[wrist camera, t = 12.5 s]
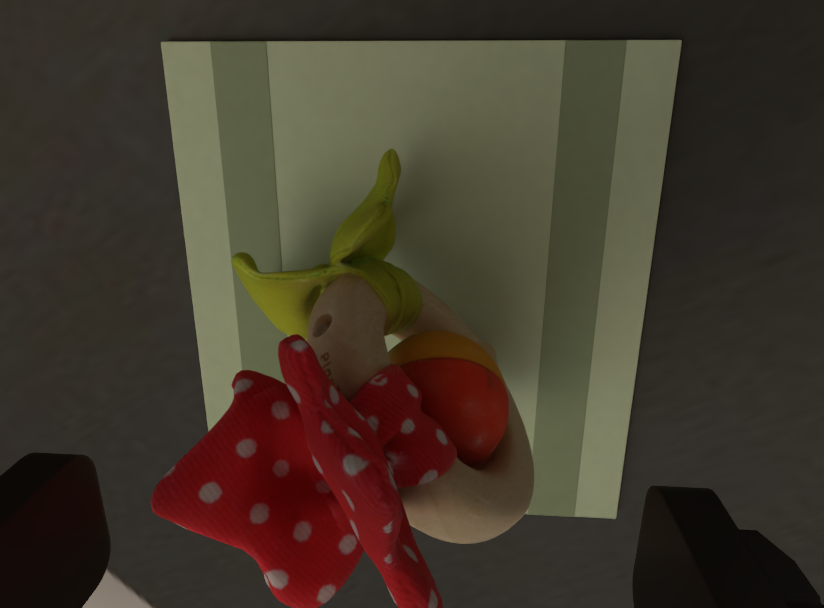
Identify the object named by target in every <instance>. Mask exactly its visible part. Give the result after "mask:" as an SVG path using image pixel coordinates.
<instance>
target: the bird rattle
mask: <svg viewBox="0 0 824 608" xmlns="http://www.w3.org/2000/svg"><path fill="white" fill-rule="evenodd" d="M400 174H401V165H400V161H399V157H398V155H397V153H396V151H395V150H394V149H389V150H388V151H386V152H385V153H384V154H383V156H382V158H381V160H380V163H379V166H378V175H377V181H376V184H375V186H374V187H373V188H372V189H371V191H370V192H369V194H368V195H367V197H366V198H365V200H364V201H363V202H362V203H361V204H360V205H359V206H358V207H357V208H356V209H355V210H354V211H353V212H352V213H351V214H350V215H349V216H348V217H347V219H346V220H345V221H344V222H343V223H342V224H341V225H340V227H339V228H338V230H337V232H336V234H335V236H334V239H333V242H332V246H331V251H330V259H329V264H320V265H317V266H315V267H314V268H311V269H306V270H299V271H283V272H269V273H262V272H260V271H259V270H258V268H257V265H256V263H255V261H254V259H253V258H252V257H251V256H250V254H248V253H245V252H238V253H236V254H235V255H234V256H233V257H232V258H231V263H232V265H233V267H234V269H235V271H236V273H237V275H238V276H239V278H240V280H241V282H242V283H243V285H244V286H245V288H246V290H247V291H248V293H249V294H250V296H251V298H252V299H253V301H254V302H255V303H256V304H257V306H258V307H259V308H260V309H261V310H262V311H263V312H264V314H265V315H266V316H267V318H268V319H269V320H270V321H271V322H272V323H273V324H274V325H275V327H276V328H277V329H279V330H280V331H281V332H283V333H285V334H287V335H289V337H286V338H284V339H283V340H282V341H280V343H279V347H278V358H279V363H280V368H281V373H282V376H283V378H284V380H285V383H286V384H285V383H283V382H281V381H279V380H277V379H275V378H273V377H271V376H267V375H264V374H262V373H259V372H256V371H252V370H241V371H240V372H238V373H237V374H236V375H235V377H234V379H233V382H232V388H233V389H234V399H233V401H232V404H231V405H230V407H229V409H228V410H227V411H226V412H225V414H224V415H223V416H222V417H221V419H220V420H219V421H218V422H217V423H216V424H215V425H214V426H213V428H212V429H211V430H210V431H209V432H208V433H207V434H206V435H205V436H204V437H203V438H202V439H201V440H200V441H199V442H198V443H197V444H196V445H195V446H194V447H193V448H192V449H191V450H190V451H189V452H188V453H187V454H186V455H185V456H184V457H183V458H182V459H180V460H179V461H178V462H177V463H176V464H175V465H174V466H173V467H172V468H171V469H170V470H169V471H168V472H167V473H166V475H165V476H164V477H163V478H162V480H161V481H160V482H159V484H158V485H157V486H156V488H155V490H154V492H153V495H152V498H151V506H152V510H153V512H154V513H155V514H156V515H158V516H160V517H162V518H164V519H167V520H169V521H171V522H173V523H175V524H177V525H179V526H181V527H183V528H185V529H188V530H190V531H193V532H195V533H198V534H201V535H204V536H207V537H209V538H212V539H215V540H217V541H220V542H223V543H226V544H229V545H231V546H234V547H237V548H240V549H242V550H244V551H245V552H247V553H248V554H249V555H250V556H252V557H253V558H254V559H255V560H256V562H257V563H258V565H259V566H260V568H261V570H262V571H263V573H264V577H265V580H266V583H267V585H268V586H269V588H270V589H271V591H272V593H273V595H274V596H275V597H276V598H277V599H278V600H279V601H280V602H282V603H284V604H286V605H287V606H290V607H292V608H318V607H320V606H321V605H323V604H324V603H326V602H327V601H328V600H329V599H330V598H331V597H332V596H333V595H334V594H335V593H336V592H337V591H338V590H339V589H340V588H341V587H342V586H343V584H344V583H345V582H346V580H347V579H348V577H349V576H350V574H351V573H352V571H353V570H354V568H355V567H356V565H357V563H358V562H359V560H360V557H361V555H362V553H363V551H364V550H365V551H366V553H367V554H368V555H369V557H370V558H371V559H372V561H373V562H374V564H375V565H376V567H377V568H378V570H379V571H380V573H381V575H382V576H383V579H384V581H385V583H386V585H387V587H388V590H389V592H390V595H391V596H392V598H393V600H394V602H395V603H396V605H397V606H398V608H443V606H442V600H441V597H440V594H439V592H438V590H437V587H436V585H435V581H434V579H433V577H432V575H431V573H430V571H429V569H428V567H427V564H426V562H425V560H424V558H423V556H422V554H421V553H420V551H419V549H418V547H417V545H416V542H415V540H414V537H413V534H412V531H411V527H410V525H411V526H412V527H414V528H416V529H418V530H420V531H422V532H424V533H426V534H428V535H430V536H432V537H435V538H437V539H440V540H444V541H447V542H453V543H459V544H470V543H478V542H483V541H486V540H489V539H492V538H494V537H496V536H498V535H500V534H502V533H504V532H505V531H507V530H508V529H510V528H511V527H512V526H513V525H514V524H515V523H516V522H518V521H519V520H520V519H521V518H522V516H523V515H524V514H525V513H526V511H527V509H528V508H529V506H530V502H531V499H532V495H533V490H534V464H533V456H532V452H531V447H530V443H529V439H528V436H527V433H526V429H525V426H524V423H523V421H522V418H521V416H520V413H519V411H518V408H517V406H516V404H515V401H514V399H513V397H512V395H511V393H510V390H509V388H508V387H507V385H506V383H505V380H504V378H503V376H502V373H501V371H500V369H499V368H498V364H497V359H496V353H495V351H494V349H493V348H492V347H491V346H490V345H489V344H488V343H486V342H485V341H483V340H481V339H480V338H478V337H477V336H476V335H475V334H474V333H473V332H472V330H471V329H470V328H469V327H468V326H467V325H466V324H465V323H464V322H463V320H462V319H461V318H460V317H459V316H458V315H457V314H456V313H455V312H454V311H453V310H452V309H451V308H450V307H449V306H448V305H447V304H446V303H444V302H443V301H442V300H441V299H440V298H438V297H437V296H436V295H435V294H434V293H432V292H431V291H430V290H428V289H427V288H426V287H424V286H423V285H422V284H420V283H418V282H417V281H415V280H414V279H413V278H412V277H411V276H410V275H409V274H408V273H407V272H406V271H404V270H403V269H400V268H398V267H396V266H394V265H393V264H391V263H389V262H386V261H383V260H384V259H385V258H386V256H387V255H388V253H389V252H390V251H391V250H392V248H393V246H394V243H395V236H396V226H395V217H394V213H393V211H392V204H393V198H394V194H395V191H396V187H397V184H398V181H399V178H400ZM390 334H392V335H394V336H395V337H397V338H398V339H400V340H401V342H400V343H398V344H397V345H395V346H394V347H393V348H392V349H391V350H390V351H389V352H388V351H387V347H386V343H385V338H384V336H388V335H390ZM306 340H307V341H306Z"/></svg>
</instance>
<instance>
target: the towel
mask: <svg viewBox="0 0 824 608" xmlns="http://www.w3.org/2000/svg"><path fill="white" fill-rule="evenodd" d="M681 44H682V40H451V41H167V42H161V48H162V57H163V65H164V73H165V81H166V89H167V97H168V106H169V114H170V122H171V130H172V138H173V146H174V155H175V163H176V171H177V179H178V187H179V195H180V203H181V212H182V220H183V228H184V236H185V244H186V252H187V261H188V269H189V277H190V285H191V293H192V301H193V309H194V318H195V326H196V334H197V342H198V350H199V358H200V367H201V375H202V383H203V391H204V399H205V407H206V415H207V424H208V432H209V431H210V430H211V429H212V428H213V426H214V425H215V424H216V423H217V422H218V421H219V420H220V419H221V417H222V416H223V415H224V414H225V412H226V411H227V410H228V409H229V407H230V405H231V404H232V401H233V399H234V389H233V388H232V382H233V379H234V377H235V375H236V374H237V373H238V372H240V371H241V370H252V371H256V372H259V373H262V374H264V375H267V376H271V377H273V378H275V379H277V380H279V381H281V382H283V383H285V380H284V378H283V376H282V373H281V368H280V363H279V358H278V347H279V343H280V341H282V340H283V339H284V338H286V337H289V335H287V334H285V333H283V332H281V331H280V330H279V329H277V328H276V327H275V325H274V324H273V323H272V322H271V321H270V320H269V319H268V318H267V316H266V315H265V314H264V312H263V311H262V310H261V309H260V308H259V307H258V306H257V304H256V303H255V302H254V301H253V299H252V298H251V296H250V294H249V293H248V291H247V290H246V288H245V286H244V285H243V283H242V282H241V280H240V278H239V276H238V275H237V273H236V271H235V269H234V267H233V265H232V263H231V258H232V257H233V256H234V255H235V254H236V253H238V252H245V253H248V254H250V256H251V257H252V258H253V259H254V261H255V263H256V265H257V268H258V270H259V271H260V272H262V273H269V272H283V271H299V270H306V269H311V268H314V267H315V266H317V265H320V264H329V259H330V251H331V246H332V242H333V239H334V236H335V234H336V232H337V230H338V228H339V227H340V225H341V224H342V223H343V222H344V221H345V220H346V219H347V217H348V216H349V215H350V214H351V213H352V212H353V211H354V210H355V209H356V208H357V207H358V206H359V205H360V204H361V203H362V202H363V201H364V200H365V198H366V197H367V195H368V194H369V192H370V191H371V189H372V188H373V187H374V186H375V184H376V181H377V175H378V166H379V163H380V160H381V158H382V156H383V154H384V153H385V152H386V151H388V150H389V149H394V150H395V151H396V153H397V155H398V157H399V161H400V165H401V174H400V178H399V181H398V184H397V187H396V191H395V194H394V198H393V204H392V211H393V213H394V217H395V226H396V236H395V243H394V246H393V248H392V250H391V251H390V252H389V253H388V255H387V256H386V258H385V259H384V260H383V261H386V262H389V263H391V264H393V265H394V266H396V267H398V268H400V269H403V270H404V271H406V272H407V273H408V274H409V275H410V276H411V277H412V278H413V279H414V280H415V281H417V282H418V283H420V284H422V285H423V286H424V287H426V288H427V289H428V290H430V291H431V292H432V293H434V294H435V295H436V296H437V297H438V298H440V299H441V300H442V301H443V302H444V303H446V304H447V305H448V306H449V307H450V308H451V309H452V310H453V311H454V312H455V313H456V314H457V315H458V316H459V317H460V318H461V319H462V320H463V322H464V323H465V324H466V325H467V326H468V327H469V328H470V329H471V330H472V332H473V333H474V334H475V335H476V336H477V337H478V338H480V339H481V340H483V341H485V342H486V343H488V344H489V345H490V346H491V347H492V348H493V349H494V351H495V353H496V359H497V364H498V368H499V369H500V371H501V373H502V376H503V378H504V380H505V383H506V385H507V387H508V388H509V390H510V393H511V395H512V397H513V399H514V401H515V404H516V406H517V408H518V411H519V413H520V416H521V418H522V421H523V423H524V426H525V429H526V433H527V436H528V439H529V443H530V447H531V452H532V456H533V464H534V490H533V495H532V499H531V502H530V506H529V508H528V509H527V511H526V513H525V514H528V515H547V516H567V517H593V518H613V519H616V515H617V508H618V501H619V493H620V486H621V479H622V472H623V464H624V457H625V450H626V443H627V435H628V428H629V421H630V414H631V406H632V399H633V392H634V385H635V377H636V370H637V363H638V356H639V349H640V341H641V334H642V327H643V320H644V312H645V305H646V298H647V291H648V283H649V276H650V269H651V262H652V254H653V247H654V240H655V233H656V225H657V218H658V211H659V204H660V196H661V189H662V182H663V175H664V167H665V160H666V153H667V146H668V139H669V131H670V124H671V117H672V110H673V102H674V95H675V88H676V81H677V73H678V66H679V59H680V52H681ZM384 338H385V343H386V347H387V351H388V352H389V351H390V350H391V349H392V348H393V347H394V346H395V345H397V344H398V343H400V342H401V340H400V339H398V338H397V337H395V336H394V335H392V334H390V335H388V336H384ZM306 341H307V340H306ZM285 384H286V383H285Z"/></svg>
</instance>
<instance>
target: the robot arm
mask: <svg viewBox="0 0 824 608" xmlns="http://www.w3.org/2000/svg"><path fill="white" fill-rule="evenodd" d="M110 547H111V545H110V535H109V530H108V526H107V521H106V516H105V511H104V506H103V501H102V497H101V492H100V487H99V482H98V477H97V472H96V468H95V465H94V463H93V461H92V460H91V459H90V458H89V457H88V456H85V455H72V454H53V453H30V454H28V455H26V456H24V457H23V458H21V459H20V460H19V461H18V462H17V463H15V464H14V465H13V466H12V467H11V468H9V469H8V470H7V471H6V472H5V473H3V474H2V475H1V476H0V608H82V607H83V605H84V604H85V603H86V601H87V600H88V599H89V597H90V596H91V595H92V593H93V592H94V590H95V589H96V588H97V586H98V585H99V583H100V581H101V580H102V578H103V575H104V573H105V571H106V568H107V565H108V561H109V556H110ZM633 601H634V608H824V605H822V604H821V602H820V596H819V595H818V594H817V592H816V591H815V589H814V588H813V587H812V585H811V584H810V582H809V581H808V580H807V578H806V577H805V575H804V574H803V573H802V571H801V570H800V568H799V567H798V566H797V564H796V563H795V561H794V560H792V559H791V558H790V557H789V556H787V555H786V554H785V553H784V552H783V551H781V550H780V549H779V548H778V547H776V546H775V545H774V544H773V543H771V542H770V541H769V540H768V539H766V538H765V537H764V536H763V535H762V534H760V533H759V532H758V531H756V530H739V529H738V528H737V526H736V525H735V523H734V521H733V520H732V518H731V517H730V515H729V514H728V512H727V510H726V509H725V507H724V506H723V504H722V502H721V501H720V499H719V498H718V496H717V495H716V494H715V492H714V491H712V490H711V489H707V488H688V487H669V486H651V487H650V488H649V490H648V492H647V495H646V499H645V504H644V510H643V516H642V522H641V529H640V535H639V541H638V547H637V553H636V559H635V565H634V571H633Z"/></svg>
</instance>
